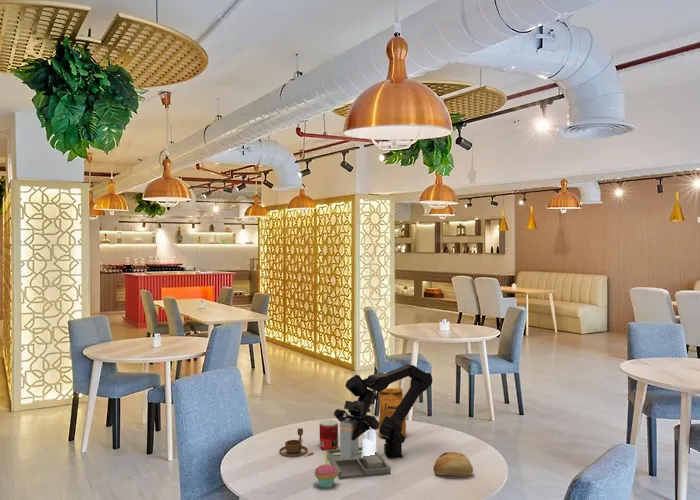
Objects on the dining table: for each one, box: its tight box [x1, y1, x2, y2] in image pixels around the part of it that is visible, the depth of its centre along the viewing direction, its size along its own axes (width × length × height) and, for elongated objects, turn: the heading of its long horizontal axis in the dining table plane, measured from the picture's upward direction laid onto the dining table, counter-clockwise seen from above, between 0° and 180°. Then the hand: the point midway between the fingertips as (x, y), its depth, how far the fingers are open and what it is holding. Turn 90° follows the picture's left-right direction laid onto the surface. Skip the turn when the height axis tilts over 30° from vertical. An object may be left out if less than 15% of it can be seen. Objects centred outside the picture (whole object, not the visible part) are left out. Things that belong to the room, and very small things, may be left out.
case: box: [325, 446, 392, 480], centre depth 236 cm, size 20×26×4 cm
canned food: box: [319, 419, 339, 451], centre depth 255 cm, size 8×8×11 cm
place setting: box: [278, 428, 315, 459], centre depth 253 cm, size 18×20×6 cm
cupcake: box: [314, 451, 338, 488], centre depth 216 cm, size 9×8×12 cm
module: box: [339, 418, 360, 458], centre depth 228 cm, size 5×5×14 cm
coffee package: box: [378, 387, 407, 438], centre depth 270 cm, size 10×12×22 cm
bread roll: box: [432, 451, 474, 477], centre depth 226 cm, size 10×15×8 cm, turn 91°
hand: (347, 438), depth 227 cm, fingers closed on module, 5 cm apart
